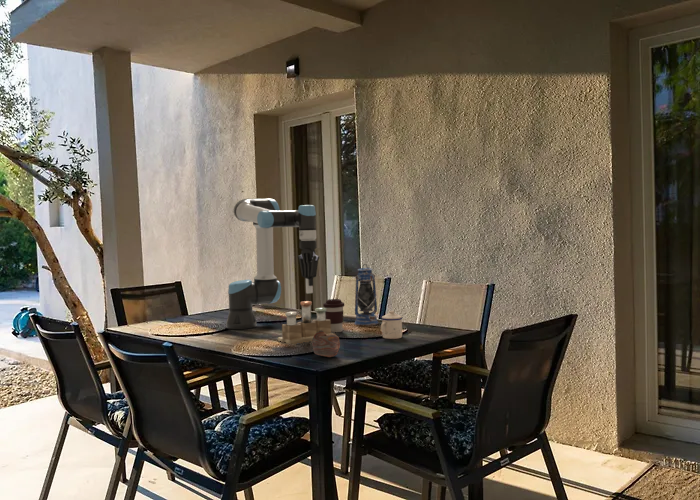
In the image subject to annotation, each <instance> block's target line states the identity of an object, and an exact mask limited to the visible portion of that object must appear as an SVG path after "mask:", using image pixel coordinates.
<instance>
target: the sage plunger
mask: <svg viewBox="0 0 700 500" xmlns="http://www.w3.org/2000/svg"><path fill="white" fill-rule="evenodd" d="M314 311H315V312H316V319H317V321H325V320H326V315H325V311H326V308H325V307H317V308H315V309H314Z"/></svg>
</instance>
